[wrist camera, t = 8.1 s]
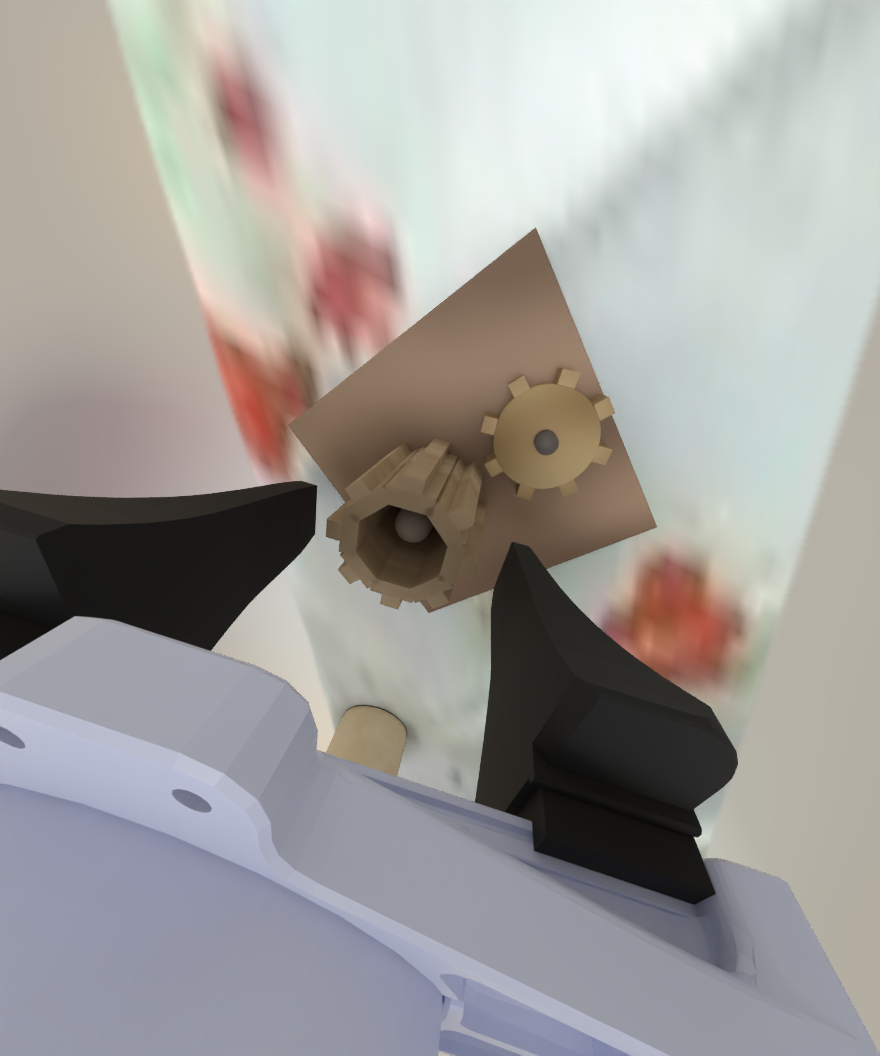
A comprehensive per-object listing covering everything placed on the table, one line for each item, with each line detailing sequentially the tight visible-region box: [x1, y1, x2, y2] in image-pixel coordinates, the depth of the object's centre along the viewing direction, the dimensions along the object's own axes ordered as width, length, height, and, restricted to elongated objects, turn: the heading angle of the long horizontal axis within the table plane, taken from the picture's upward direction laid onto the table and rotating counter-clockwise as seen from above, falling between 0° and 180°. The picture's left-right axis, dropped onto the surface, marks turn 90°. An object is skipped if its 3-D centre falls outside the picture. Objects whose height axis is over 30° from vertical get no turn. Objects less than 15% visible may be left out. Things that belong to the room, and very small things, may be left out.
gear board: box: [288, 228, 657, 613], centre depth 13 cm, size 12×12×5 cm
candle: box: [326, 706, 407, 776], centre depth 22 cm, size 6×6×10 cm
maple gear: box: [326, 439, 486, 609], centre depth 13 cm, size 5×5×5 cm
